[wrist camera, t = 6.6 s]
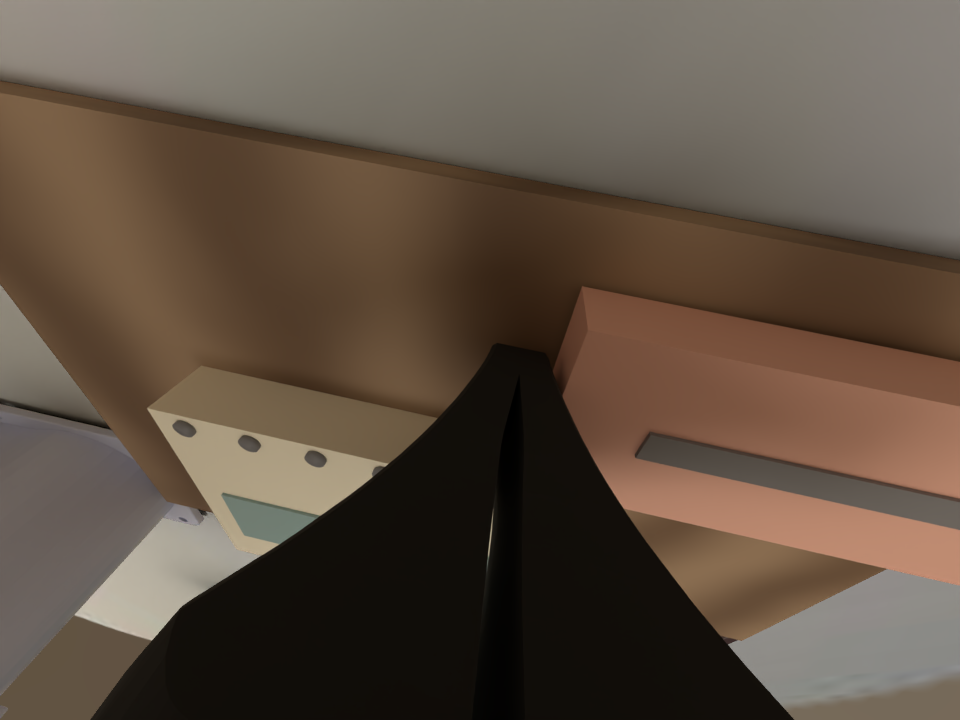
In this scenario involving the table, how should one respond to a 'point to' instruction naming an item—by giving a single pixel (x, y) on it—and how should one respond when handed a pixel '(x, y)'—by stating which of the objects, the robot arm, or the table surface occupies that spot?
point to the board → (398, 288)
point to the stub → (769, 430)
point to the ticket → (277, 450)
